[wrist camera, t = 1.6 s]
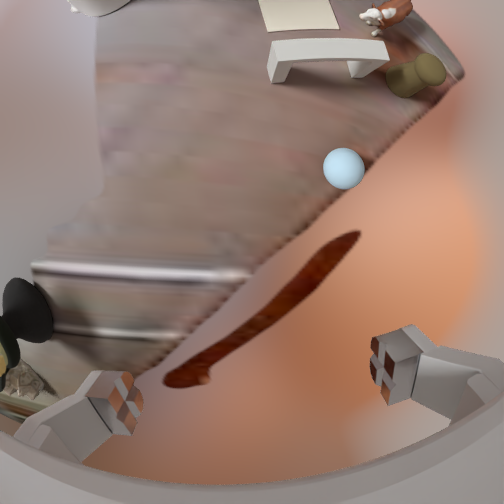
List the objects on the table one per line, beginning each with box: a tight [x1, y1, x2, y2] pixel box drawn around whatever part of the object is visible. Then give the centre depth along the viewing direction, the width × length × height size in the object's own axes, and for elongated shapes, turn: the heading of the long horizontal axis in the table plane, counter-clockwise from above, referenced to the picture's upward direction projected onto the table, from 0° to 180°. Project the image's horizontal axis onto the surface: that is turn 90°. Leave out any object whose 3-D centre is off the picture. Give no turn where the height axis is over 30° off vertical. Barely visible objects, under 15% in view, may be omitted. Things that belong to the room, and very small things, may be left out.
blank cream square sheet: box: [258, 0, 339, 32], centre depth 29 cm, size 12×12×1 cm
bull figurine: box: [359, 0, 413, 37], centre depth 26 cm, size 4×13×8 cm, turn 130°
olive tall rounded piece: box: [385, 53, 446, 98], centre depth 28 cm, size 6×6×11 cm
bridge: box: [267, 38, 390, 84], centre depth 29 cm, size 3×15×10 cm, turn 101°
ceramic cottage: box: [3, 358, 44, 400], centre depth 48 cm, size 16×16×15 cm
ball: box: [323, 148, 365, 189], centre depth 36 cm, size 6×6×6 cm
